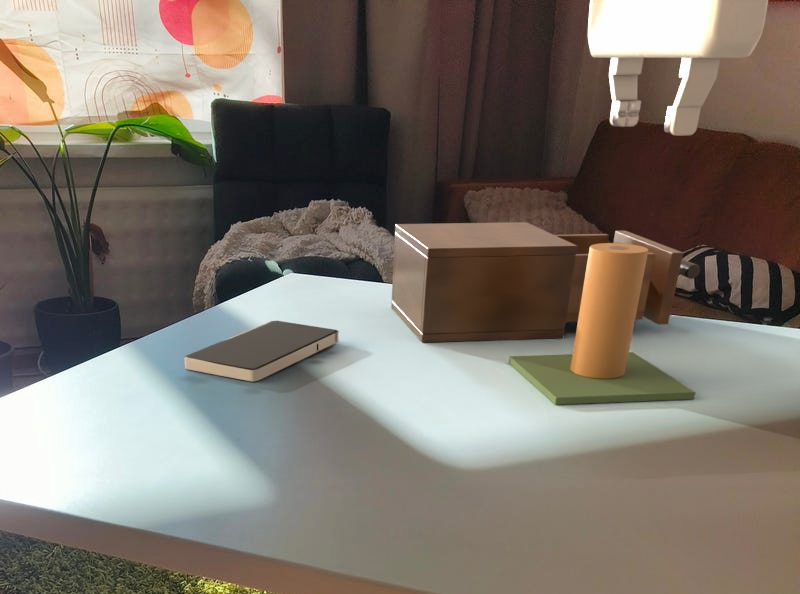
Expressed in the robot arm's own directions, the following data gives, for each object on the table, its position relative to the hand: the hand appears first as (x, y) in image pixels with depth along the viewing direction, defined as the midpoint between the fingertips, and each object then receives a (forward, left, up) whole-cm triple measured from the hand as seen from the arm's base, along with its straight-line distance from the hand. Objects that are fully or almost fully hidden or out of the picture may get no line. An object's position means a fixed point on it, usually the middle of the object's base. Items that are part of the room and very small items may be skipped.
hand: (649, 130), depth 68 cm
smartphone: (+29, -10, -19) cm, 36 cm away
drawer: (-8, -21, -18) cm, 28 cm away
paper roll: (+1, 0, -18) cm, 18 cm away
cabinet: (+6, -20, -19) cm, 28 cm away
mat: (+1, +1, -19) cm, 19 cm away
